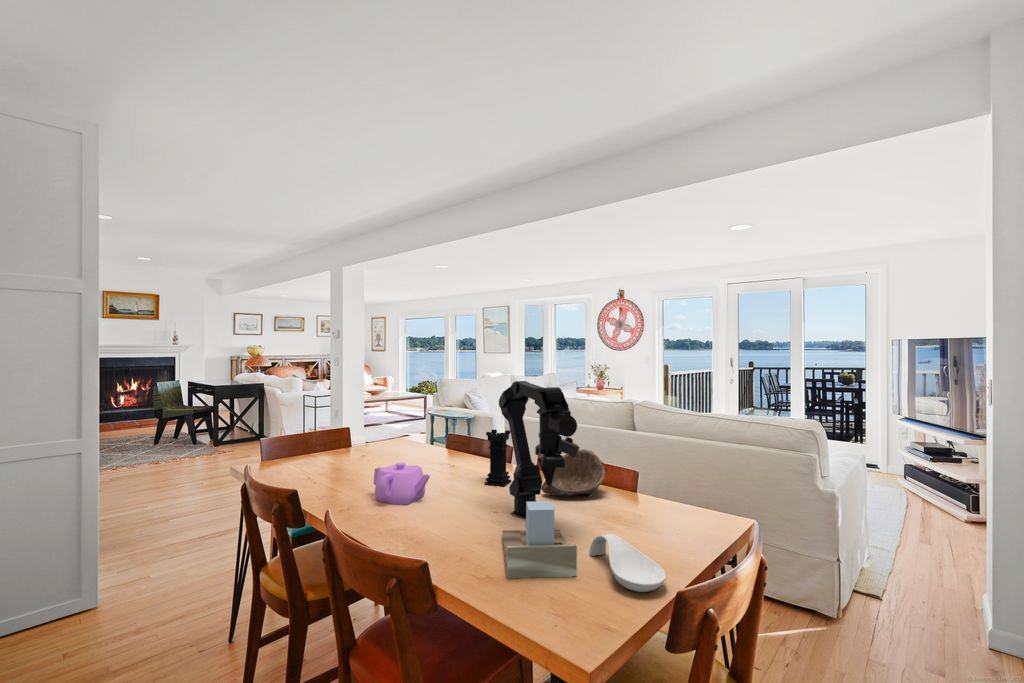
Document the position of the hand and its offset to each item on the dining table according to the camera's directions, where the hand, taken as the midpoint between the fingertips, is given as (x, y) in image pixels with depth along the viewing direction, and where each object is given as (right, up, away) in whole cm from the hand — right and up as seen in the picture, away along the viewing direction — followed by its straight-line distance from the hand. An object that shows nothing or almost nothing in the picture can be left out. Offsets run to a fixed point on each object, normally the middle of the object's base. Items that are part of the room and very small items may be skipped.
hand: (549, 485), depth 144 cm
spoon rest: (+15, -13, -27) cm, 34 cm away
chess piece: (-16, -14, +49) cm, 53 cm away
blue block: (-4, -11, -24) cm, 27 cm away
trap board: (-5, -13, -17) cm, 22 cm away
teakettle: (-49, -13, +29) cm, 58 cm away
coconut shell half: (+13, -14, +34) cm, 39 cm away
